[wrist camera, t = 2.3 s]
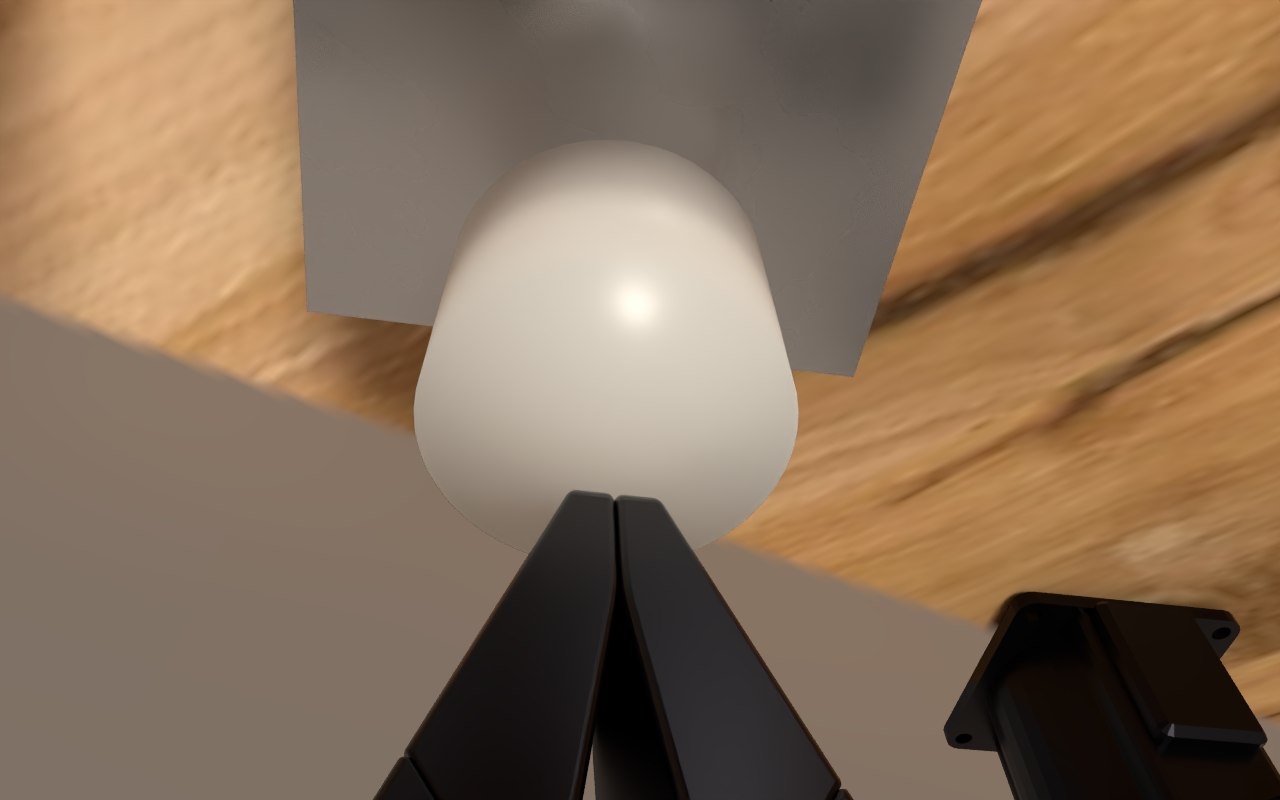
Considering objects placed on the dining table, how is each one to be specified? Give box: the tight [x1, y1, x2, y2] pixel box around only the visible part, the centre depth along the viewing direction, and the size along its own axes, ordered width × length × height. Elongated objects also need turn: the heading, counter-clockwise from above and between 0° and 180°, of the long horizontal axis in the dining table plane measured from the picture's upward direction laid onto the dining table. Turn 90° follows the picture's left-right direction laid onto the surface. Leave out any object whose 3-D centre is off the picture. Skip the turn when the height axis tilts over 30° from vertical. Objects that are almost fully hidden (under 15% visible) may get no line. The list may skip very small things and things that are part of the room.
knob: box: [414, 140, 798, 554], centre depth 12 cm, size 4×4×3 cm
